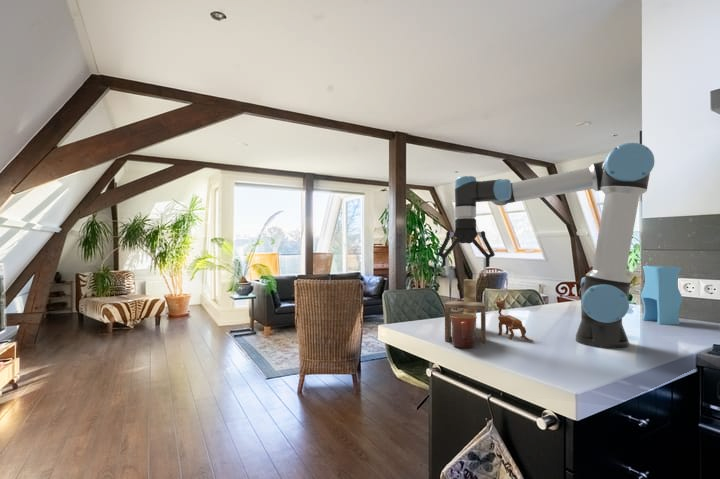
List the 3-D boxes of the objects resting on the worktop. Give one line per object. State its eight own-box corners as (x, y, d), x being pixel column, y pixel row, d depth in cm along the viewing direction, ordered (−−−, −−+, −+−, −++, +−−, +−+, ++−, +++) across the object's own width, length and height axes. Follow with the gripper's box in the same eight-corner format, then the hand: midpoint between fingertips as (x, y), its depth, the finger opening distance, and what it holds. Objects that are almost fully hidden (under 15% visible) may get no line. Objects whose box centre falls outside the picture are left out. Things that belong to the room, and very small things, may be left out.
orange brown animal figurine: (540, 344, 126) (540, 304, 126) (525, 345, 124) (525, 305, 124) (503, 332, 143) (503, 297, 143) (490, 333, 140) (489, 298, 141)
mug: (449, 342, 128) (449, 313, 128) (475, 343, 126) (475, 314, 126) (450, 352, 116) (450, 319, 116) (478, 353, 114) (478, 320, 114)
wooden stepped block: (476, 327, 151) (475, 279, 151) (471, 342, 128) (470, 285, 128) (465, 326, 153) (464, 279, 153) (458, 341, 129) (457, 285, 130)
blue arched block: (682, 326, 152) (681, 267, 153) (659, 326, 152) (658, 267, 153) (663, 322, 162) (662, 266, 163) (641, 321, 162) (640, 265, 163)
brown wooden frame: (485, 339, 132) (485, 302, 132) (484, 344, 124) (484, 306, 124) (447, 336, 136) (447, 300, 137) (444, 341, 129) (444, 303, 129)
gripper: (501, 218, 134) (502, 275, 133) (434, 220, 144) (434, 273, 143) (500, 216, 127) (501, 277, 127) (430, 218, 137) (430, 275, 137)
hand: (465, 275), depth 135 cm, fingers open, 13 cm apart
